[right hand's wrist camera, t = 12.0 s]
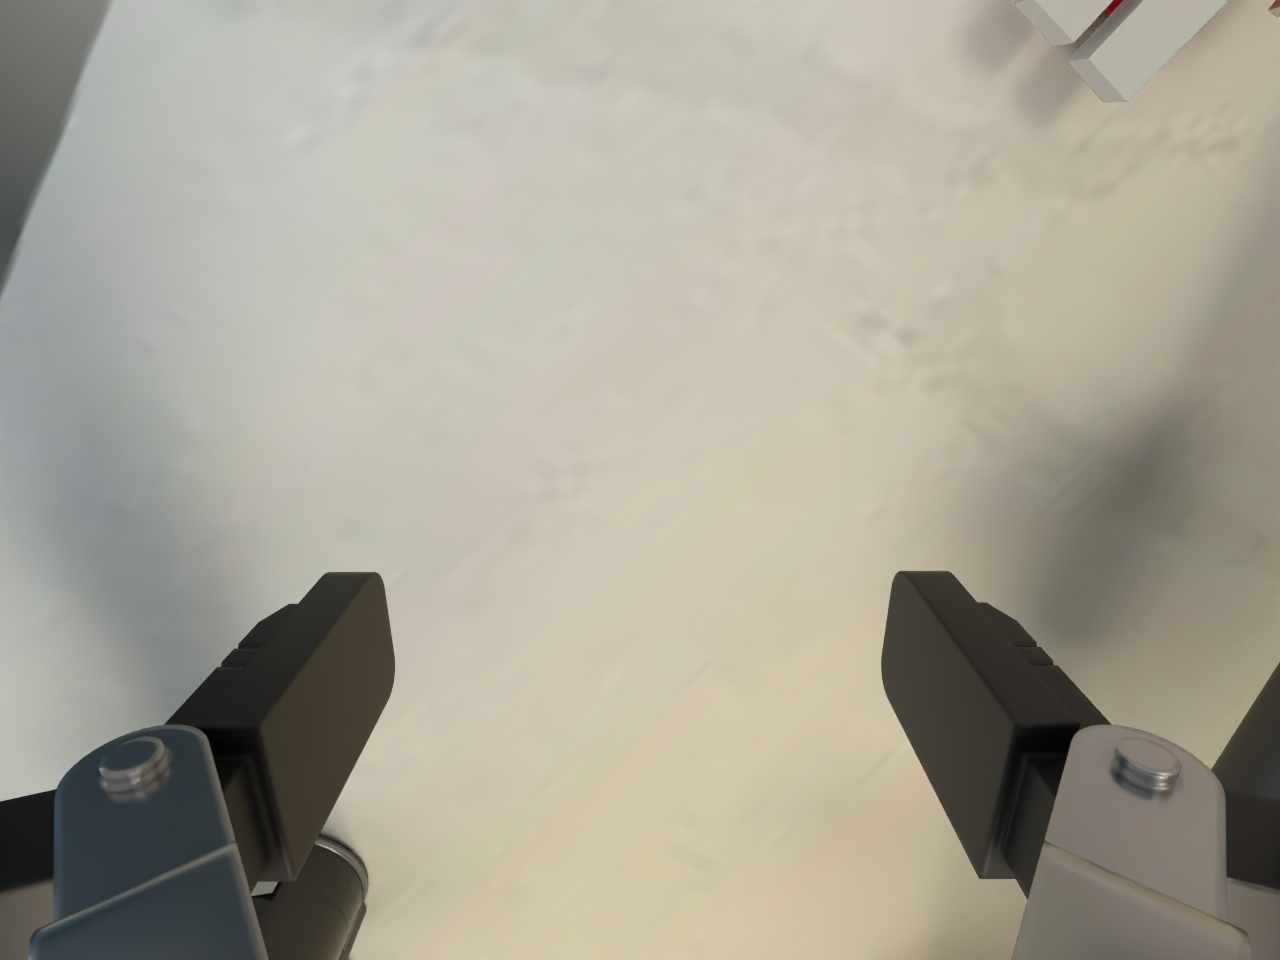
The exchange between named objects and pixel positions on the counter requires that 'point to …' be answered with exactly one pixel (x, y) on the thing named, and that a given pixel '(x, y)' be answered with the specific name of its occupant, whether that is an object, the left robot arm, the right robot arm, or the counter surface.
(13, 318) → the counter surface
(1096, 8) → the toy
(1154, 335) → the counter surface
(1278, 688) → the rod
